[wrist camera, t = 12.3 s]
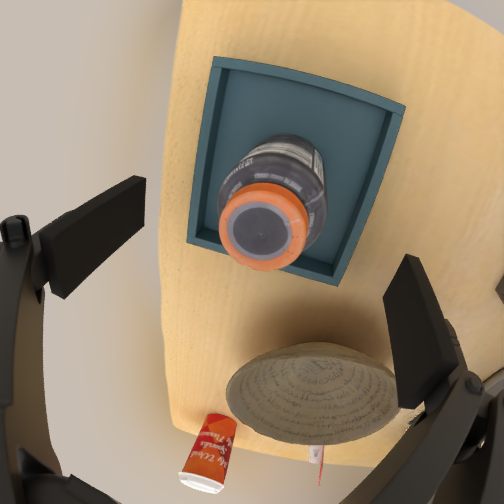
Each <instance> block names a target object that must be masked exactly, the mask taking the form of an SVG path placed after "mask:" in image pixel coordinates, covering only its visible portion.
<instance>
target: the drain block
mask: <svg viewBox="0 0 504 504" xmlns="http://www.w3.org/2000/svg"><path fill="white" fill-rule="evenodd" d="M495 290H496V292H497V293H498V295H499V297H500V298H501V300H502V302H503V304H504V276H503V278H502V280H501V281H500V283H499V285H498V286H497V288H496V289H495Z"/></svg>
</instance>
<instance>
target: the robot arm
mask: <svg viewBox="0 0 504 504" xmlns="http://www.w3.org/2000/svg"><path fill="white" fill-rule="evenodd" d="M145 191H146V178H144V177H139V176H135V175H133V176H131V177H130V178H128V179H126V180H124V181H122V182H120V183H119V184H117V185H115V186H113V187H111V188H110V189H108V190H106V191H105V192H103V193H101V194H99V195H98V196H96V197H94V198H93V199H91V200H89V201H88V202H86V203H84V204H83V205H81V206H79V207H78V208H76V209H75V210H72V211H69V212H66V213H64V214H63V215H62V216H60V217H58V219H55V220H54V221H52V223H49V224H48V225H46V226H45V227H43V228H42V229H40V230H39V231H37V232H36V233H34V234H33V235H32V236H31V231H30V226H29V220H28V217H27V216H25V215H14V216H11V217H8V218H6V219H5V220H3V221H2V222H1V223H0V231H1V236H2V240H3V242H0V504H121V503H119V502H118V501H116V500H115V499H113V498H111V497H110V496H108V495H107V494H105V493H103V492H101V491H99V490H98V489H96V488H94V487H92V486H90V485H89V484H87V483H85V482H84V481H82V480H80V479H79V478H77V477H75V476H74V475H72V474H71V475H70V477H65V476H63V475H62V471H61V467H60V463H59V461H58V458H57V456H56V454H55V452H54V450H53V448H52V445H51V441H50V435H49V429H48V423H47V414H46V405H45V395H44V394H45V393H44V378H43V313H44V299H45V291H44V287H43V286H44V285H45V284H46V283H47V282H48V281H49V284H50V288H51V292H52V293H53V294H55V295H57V296H59V297H61V298H62V299H65V298H66V297H68V296H69V294H70V293H72V292H73V290H75V289H76V288H77V287H78V286H79V285H80V284H81V283H82V282H83V281H84V280H85V279H86V278H87V277H88V276H89V275H90V274H91V273H92V272H93V271H94V270H95V269H96V268H98V267H99V266H100V265H101V264H102V263H103V262H104V261H105V260H106V259H107V258H108V257H109V256H111V254H113V253H114V252H115V251H116V250H117V249H118V248H119V247H121V246H122V245H123V244H124V243H125V242H126V241H127V240H128V239H129V238H131V237H132V236H133V235H134V234H135V233H137V232H138V231H139V230H140V229H141V228H142V227H144V216H145ZM383 302H384V307H385V313H386V318H387V324H388V330H389V336H390V342H391V349H392V356H393V363H394V371H395V379H396V389H397V399H398V408H406V409H415V408H417V407H418V406H419V405H420V404H421V403H422V402H423V401H424V404H425V410H424V411H422V412H421V413H420V414H419V415H418V416H417V417H415V418H414V419H413V420H412V421H411V422H409V423H408V424H409V425H411V424H412V423H413V424H412V425H411V426H410V427H409V429H408V430H407V431H406V433H405V434H404V435H403V436H402V438H401V439H400V440H399V441H398V443H397V444H396V445H395V446H394V447H393V449H392V450H391V451H390V452H389V453H388V454H387V456H386V457H385V458H384V459H383V460H382V461H381V462H380V463H379V465H378V466H377V467H376V468H375V469H374V470H373V471H372V472H371V473H370V474H369V475H368V476H367V477H366V478H365V479H364V480H363V481H362V482H361V484H359V485H358V486H357V487H356V488H355V489H354V490H353V491H352V492H351V493H350V494H349V495H348V496H347V497H346V498H345V499H344V500H343V501H341V502H340V503H339V504H504V369H502V370H500V371H499V372H497V373H496V374H494V375H493V376H492V377H490V378H489V379H488V380H486V381H485V382H484V383H482V381H481V379H480V378H479V377H478V376H477V375H476V374H475V373H473V372H471V371H468V368H467V365H466V362H465V359H464V356H463V353H462V350H461V347H460V344H459V341H458V340H457V335H456V333H455V330H454V328H453V327H452V325H451V324H450V322H449V321H448V320H447V319H444V316H443V314H442V311H441V309H440V306H439V304H438V301H437V299H436V296H435V294H434V291H433V289H432V286H431V284H430V282H429V279H428V277H427V275H426V273H425V270H424V268H423V266H422V264H421V262H420V259H419V258H418V257H415V256H412V255H409V254H405V256H404V258H403V260H402V262H401V264H400V266H399V268H398V270H397V272H396V274H395V276H394V277H393V279H392V281H391V283H390V285H389V287H388V288H387V290H386V292H385V294H384V296H383ZM483 441H485V442H484V444H483V446H482V447H481V443H482V442H483Z"/></svg>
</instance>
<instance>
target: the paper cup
mask: <svg viewBox="0 0 504 504" xmlns="http://www.w3.org/2000/svg"><path fill="white" fill-rule="evenodd" d="M236 425H237V424H236V422H235V421H234V420H232V419H231V418H229V417H227V416H224V415H220V414H210V415H208V416H207V418H206V420H205V422H204V424H203V426H202V428H201V431H200V433H199V435H198V438H197V439H196V442H195V444H194V446H193V448H192V451H191V453H190V455H189V457H188V459H187V461H186V464H185V466H184V468H183V470H182V472H178V474H179V475H180V477H179V479H180V481H181V482H182V483H183V484H185V485H187V486H189V487H192V488H194V489H197V490H201V491H204V492H209V493H219V492H220V491H221V490H222V489H223V488H224V485H223V484H224V480H225V476H226V472H227V468H228V463H229V458H230V454H231V449H232V445H233V440H234V436H235V431H236Z"/></svg>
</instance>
